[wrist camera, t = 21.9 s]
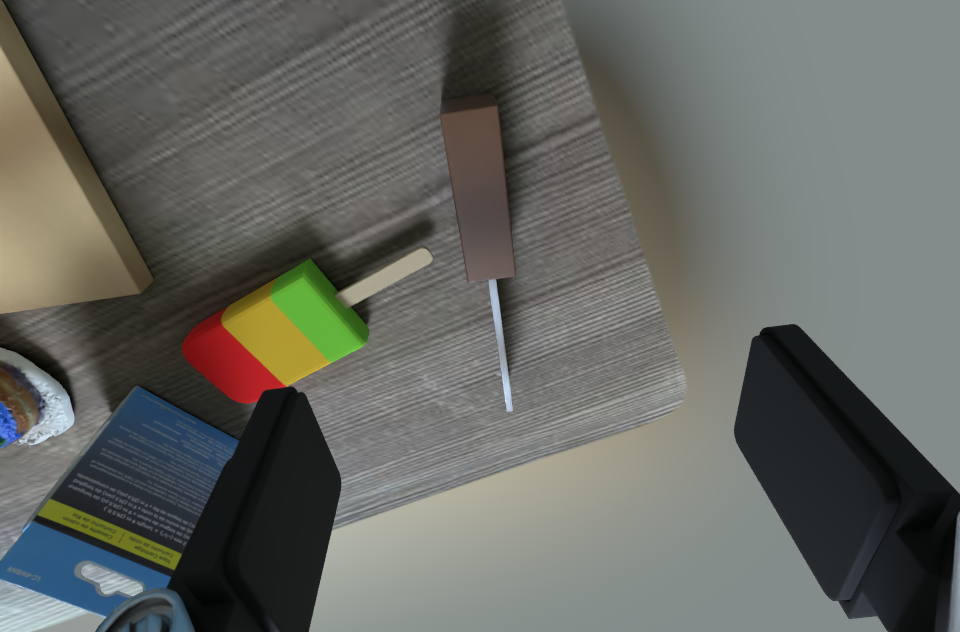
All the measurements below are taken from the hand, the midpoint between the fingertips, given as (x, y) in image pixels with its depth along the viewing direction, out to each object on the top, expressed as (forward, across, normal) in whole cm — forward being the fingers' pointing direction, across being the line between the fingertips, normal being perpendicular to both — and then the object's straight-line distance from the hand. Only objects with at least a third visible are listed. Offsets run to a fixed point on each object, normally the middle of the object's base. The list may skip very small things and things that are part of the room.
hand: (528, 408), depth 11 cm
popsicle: (+17, +11, +7) cm, 21 cm away
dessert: (+17, +31, +10) cm, 36 cm away
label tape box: (+17, +22, +15) cm, 31 cm away
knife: (+17, +1, +5) cm, 18 cm away
